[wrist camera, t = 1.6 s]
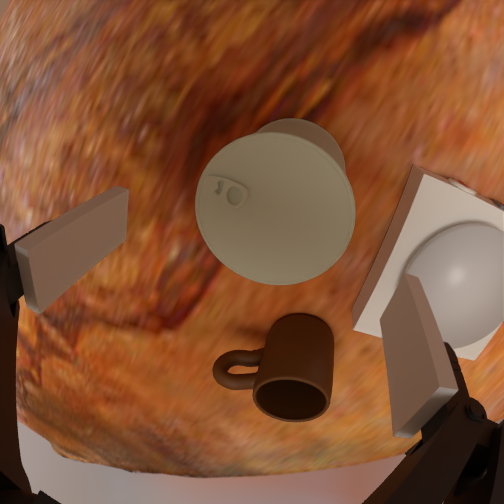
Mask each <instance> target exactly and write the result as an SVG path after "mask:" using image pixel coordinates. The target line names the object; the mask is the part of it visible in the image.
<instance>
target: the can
mask: <svg viewBox="0 0 504 504" xmlns="http://www.w3.org/2000/svg"><path fill="white" fill-rule="evenodd" d="M195 210H196V218H197V222H198V226H199V229H200V232H201V234H202V236H203V239H204V240H205V242H206V244H207V245H208V247H209V248H210V250H211V251H212V252H213V254H214V255H215V256H216V257H217V258H218V259H219V260H220V261H221V262H222V263H223V264H224V265H225V266H227V267H228V268H229V269H231V270H232V271H234V272H235V273H237V274H239V275H241V276H243V277H245V278H247V279H250V280H253V281H256V282H259V283H264V284H270V285H290V284H296V283H301V282H304V281H307V280H310V279H312V278H314V277H316V276H318V275H320V274H322V273H323V272H325V271H326V270H328V269H329V268H330V267H331V266H332V265H333V264H335V263H336V262H337V260H338V259H339V258H340V257H341V256H342V254H343V253H344V251H345V250H346V248H347V246H348V244H349V242H350V240H351V237H352V234H353V231H354V226H355V219H356V206H355V198H354V194H353V191H352V187H351V185H350V182H349V180H348V178H347V176H346V167H345V160H344V157H343V154H342V151H341V149H340V147H339V145H338V144H337V142H336V141H335V139H334V138H333V137H332V136H331V135H330V134H329V133H328V132H327V131H326V130H325V129H323V128H322V127H320V126H318V125H317V124H314V123H312V122H309V121H307V120H302V119H294V118H288V119H281V120H277V121H274V122H271V123H269V124H267V125H265V126H264V127H262V128H261V129H259V130H258V131H257V132H256V133H254V134H250V135H247V136H244V137H241V138H239V139H237V140H235V141H233V142H231V143H230V144H228V145H226V146H225V147H224V148H222V149H221V150H220V151H219V152H218V153H217V154H216V155H215V156H214V157H213V158H212V159H211V160H210V162H209V163H208V164H207V166H206V168H205V169H204V171H203V173H202V175H201V177H200V180H199V183H198V187H197V191H196V198H195Z"/></svg>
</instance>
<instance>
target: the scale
mask: <svg viewBox="0 0 504 504" xmlns="http://www.w3.org/2000/svg"><path fill="white" fill-rule="evenodd" d="M404 273H407V274H410V275H413V276H416V277H419V280H420V282H421V285H422V287H423V289H424V292H425V294H426V297H427V299H428V302H429V304H430V307H431V309H432V312H433V315H434V317H435V320H436V323H437V325H438V328H439V331H440V334H441V336H442V339H443V341H444V342H447V343H449V345H450V346H451V347H452V349H453V350H454V352H455V353H456V356H457V357H461V358H465V359H470V360H474V361H475V359H476V358H477V357H478V356H479V354H480V353H481V352H482V350H483V349H484V348H485V346H486V345H487V344H488V342H489V341H490V340H491V338H492V337H493V335H494V334H495V333H496V331H497V330H498V328H499V327H500V325H501V324H502V322H503V321H504V205H503V204H501V203H500V202H498V201H496V200H494V201H491V200H489V199H488V198H486V197H484V196H482V195H480V194H478V193H476V191H475V190H473V189H472V188H470V187H468V186H467V185H466V184H464V183H463V182H461V181H460V180H459V181H457V180H455V179H452V178H449V179H446V178H444V177H441V176H439V175H437V174H435V173H432V172H430V171H428V170H425V169H423V168H421V167H418V166H416V165H413V166H412V169H411V172H410V175H409V177H408V180H407V183H406V186H405V188H404V191H403V194H402V196H401V199H400V201H399V204H398V207H397V209H396V212H395V214H394V217H393V219H392V222H391V224H390V226H389V229H388V231H387V234H386V236H385V238H384V241H383V243H382V245H381V248H380V250H379V252H378V254H377V257H376V259H375V261H374V263H373V266H372V268H371V270H370V272H369V274H368V276H367V279H366V281H365V283H364V285H363V287H362V289H361V291H360V293H359V295H358V297H357V299H356V301H355V303H354V306H353V308H352V318H353V330H355V331H359V332H363V333H366V334H370V335H374V336H377V337H381V338H382V333H381V326H380V318H381V316H382V314H383V312H384V311H385V309H386V307H387V305H388V303H389V301H390V299H391V298H392V296H393V294H394V292H395V290H396V288H397V286H398V284H399V282H400V280H401V278H402V276H403V274H404Z"/></svg>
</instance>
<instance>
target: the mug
mask: <svg viewBox="0 0 504 504" xmlns="http://www.w3.org/2000/svg"><path fill="white" fill-rule="evenodd" d="M237 365H240V366H246V367H256V366H259V368H258V371H257V372H256V373H248V374H231V373H228V372H227V371H228V370H229V369H230V368H231V367H233V366H237ZM333 366H334V339H333V335H332V332H331V330H330V329H329V327H328V326H327V325H326V324H325V323H324V322H322V321H321V320H319V319H317V318H315V317H313V316H309V315H303V314H297V315H290V316H287V317H284V318H282V319H280V320H279V321H277V322H276V323H275V324H274V325H273V326H272V328H271V329H270V331H269V334H268V337H267V340H266V344H265V347H264V348H261V349H257V350H253V351H247V350H233V351H229V352H226V353H225V354H223V355H221V356H220V357H219V358H218V359H217V360H216V361H215V363H214V366H213V370H212V371H213V376H214V378H215V380H216V381H217V383H219V384H220V385H222V386H223V387H225V388H228V389H231V390H245V389H253V400H254V403H255V404H256V406H257V407H258V408H259V409H260V410H261V411H262V412H263V413H265V414H266V415H268V416H270V417H272V418H275V419H278V420H281V421H287V422H305V421H310V420H313V419H316V418H318V417H319V416H321V415H322V414H324V413H325V411H326V410H327V409H328V407H329V405H330V399H331V393H332V385H333Z"/></svg>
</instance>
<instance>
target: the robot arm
mask: <svg viewBox="0 0 504 504" xmlns="http://www.w3.org/2000/svg"><path fill="white" fill-rule="evenodd" d="M128 198H129V189H127V188H123V187H119V186H115V187H113V188H111V189H109V190H107V191H105V192H103V193H101V194H99V195H97V196H95V197H93V198H92V199H90V200H88V201H86V202H84V203H82V204H80V205H79V206H77V207H75V208H73V209H71V210H70V211H68V212H66V213H64V214H63V215H61V216H59V217H57V218H56V219H54V220H51V221H48V222H45V223H43V224H41V225H39V226H38V227H36V228H35V229H33V230H31V231H29V233H26V234H25V235H23V236H21V237H20V238H18V239H17V240H15V241H13V242H12V243H10V244H9V245H7V241H6V235H5V228H4V226H3V225H2V224H0V504H61V503H59V502H57V501H56V500H54V499H53V498H51V497H50V496H48V495H47V494H45V493H44V492H42V491H39V493H38V495H37V494H34V493H32V491H31V487H30V483H29V480H28V477H27V475H26V473H25V470H24V468H23V466H22V462H21V456H20V448H19V438H18V427H17V411H16V348H17V332H18V320H19V310H20V305H19V300H18V299H19V298H20V297H21V296H23V295H24V297H25V301H26V305H27V307H28V308H30V309H31V310H33V311H35V312H37V313H38V314H41V313H42V312H43V311H44V310H45V309H46V308H48V307H49V306H50V305H51V304H52V303H53V302H54V301H55V300H56V299H57V298H59V297H60V296H61V295H62V294H63V293H64V292H65V291H66V290H67V289H69V288H70V287H71V286H72V285H73V284H74V283H75V282H77V281H78V280H79V279H80V278H81V277H82V276H83V275H85V274H86V273H87V272H88V271H89V270H90V269H92V268H93V267H94V266H95V265H96V264H98V263H99V262H100V261H101V260H102V259H104V258H105V257H106V256H107V255H108V254H110V253H111V252H112V251H113V250H114V249H116V248H117V247H118V246H119V245H121V244H122V243H123V242H124V241H126V233H127V213H128ZM380 326H381V333H382V339H383V346H384V353H385V360H386V368H387V376H388V385H389V395H390V405H391V416H392V430H393V436H395V437H403V438H412V437H413V436H414V435H415V434H416V433H417V432H418V431H419V430H421V433H422V439H421V440H419V441H418V442H417V443H416V444H415V445H414V446H413V447H412V448H410V449H409V450H408V451H407V452H406V453H405V454H406V457H405V458H404V459H403V460H402V461H401V463H400V464H399V465H398V466H397V467H396V468H395V469H394V471H393V472H392V473H391V474H390V475H389V476H388V477H387V478H386V479H385V480H384V482H383V483H382V484H381V485H380V486H379V487H378V488H377V489H376V490H375V491H374V492H373V493H372V494H371V495H370V496H369V497H368V498H367V499H366V500H365V501H364V502H363V503H362V504H442V503H443V504H504V420H503V421H502V422H501V423H500V424H497V423H495V422H493V421H491V420H489V419H487V415H486V411H485V409H484V407H483V406H482V405H481V404H480V403H479V401H477V400H475V399H474V398H471V397H469V393H468V390H467V387H466V383H465V380H464V377H463V374H462V372H461V368H460V365H459V364H458V359H457V356H456V353H455V352H454V350H453V349H452V347H451V346H450V345H449V343H447V342H444V341H443V339H442V336H441V334H440V331H439V328H438V325H437V323H436V320H435V317H434V315H433V312H432V309H431V307H430V304H429V302H428V299H427V297H426V294H425V292H424V289H423V287H422V285H421V282H420V280H419V277H416V276H413V275H410V274H407V273H404V274H403V276H402V278H401V280H400V282H399V284H398V286H397V288H396V290H395V292H394V294H393V296H392V298H391V299H390V301H389V303H388V305H387V307H386V309H385V311H384V312H383V314H382V316H381V318H380Z"/></svg>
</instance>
